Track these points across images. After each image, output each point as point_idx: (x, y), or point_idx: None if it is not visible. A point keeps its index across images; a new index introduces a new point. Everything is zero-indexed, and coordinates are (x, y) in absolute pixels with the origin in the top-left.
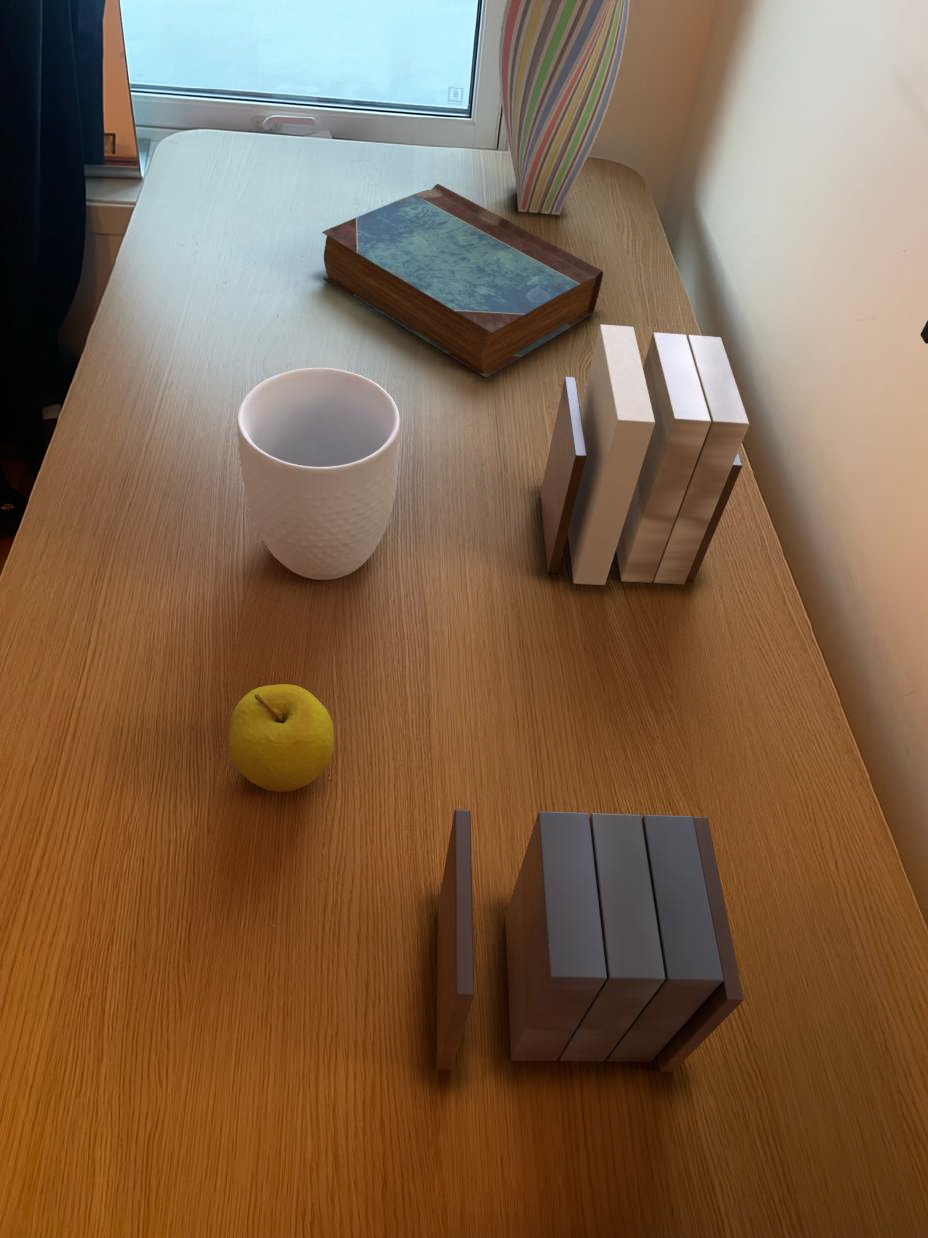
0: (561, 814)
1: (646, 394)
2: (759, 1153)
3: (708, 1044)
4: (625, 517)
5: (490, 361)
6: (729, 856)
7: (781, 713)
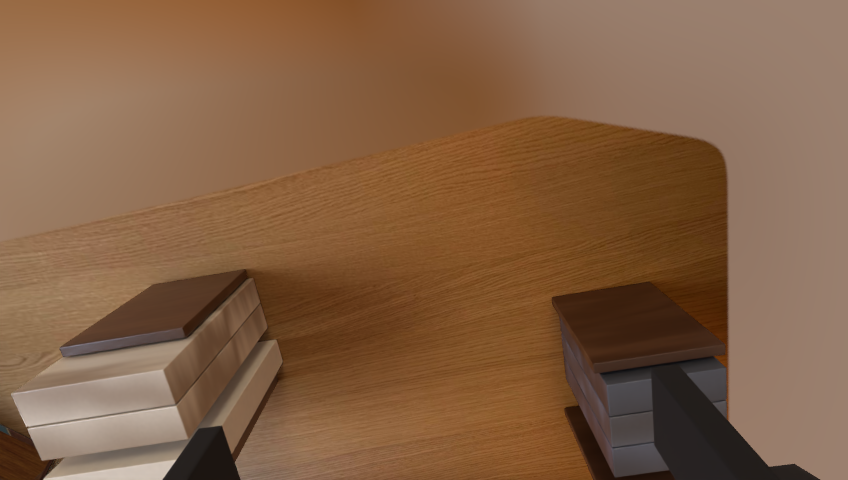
0: (615, 464)
1: (160, 464)
2: (690, 233)
3: (631, 261)
4: (249, 381)
5: (36, 457)
6: (503, 245)
7: (368, 201)
